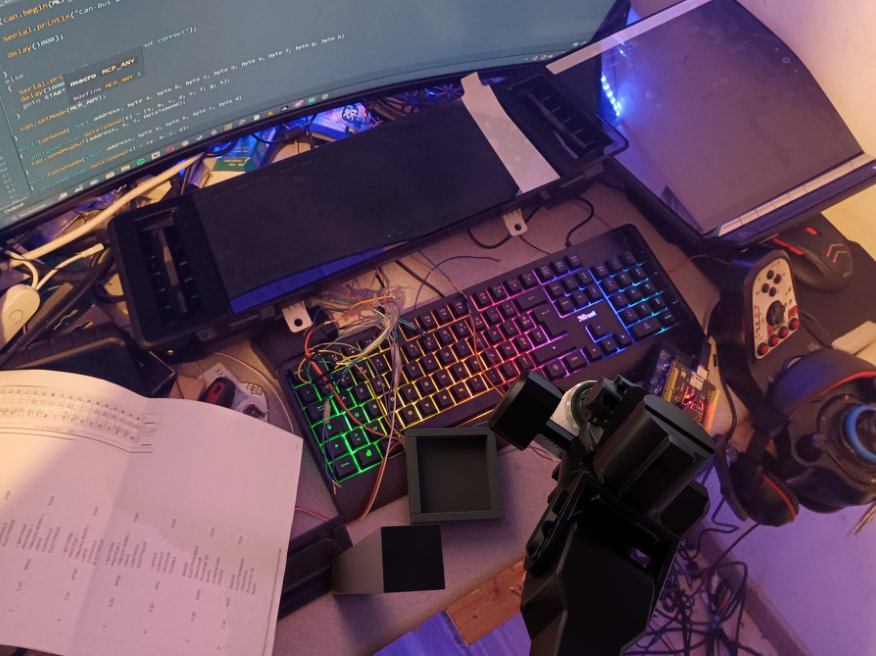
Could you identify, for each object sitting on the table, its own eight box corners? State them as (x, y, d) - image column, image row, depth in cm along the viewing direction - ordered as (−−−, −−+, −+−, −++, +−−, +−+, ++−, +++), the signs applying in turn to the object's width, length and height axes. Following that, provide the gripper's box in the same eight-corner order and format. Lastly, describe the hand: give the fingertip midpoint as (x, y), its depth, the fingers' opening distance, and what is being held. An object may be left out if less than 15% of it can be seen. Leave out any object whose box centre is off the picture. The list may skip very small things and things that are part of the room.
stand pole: (363, 592, 69) (445, 589, 34) (331, 594, 68) (383, 593, 34) (361, 558, 70) (440, 523, 36) (331, 560, 70) (380, 526, 35)
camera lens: (532, 415, 78) (557, 397, 71) (575, 386, 80) (604, 366, 73) (566, 465, 76) (595, 452, 69) (610, 435, 78) (642, 419, 71)
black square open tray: (498, 521, 73) (505, 518, 71) (409, 525, 72) (413, 523, 70) (488, 431, 77) (494, 426, 75) (403, 433, 75) (407, 428, 73)
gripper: (772, 503, 51) (738, 413, 65) (549, 354, 53) (563, 298, 68) (673, 602, 55) (662, 496, 69) (470, 460, 57) (500, 386, 72)
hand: (598, 418), depth 69 cm, fingers open, 9 cm apart
